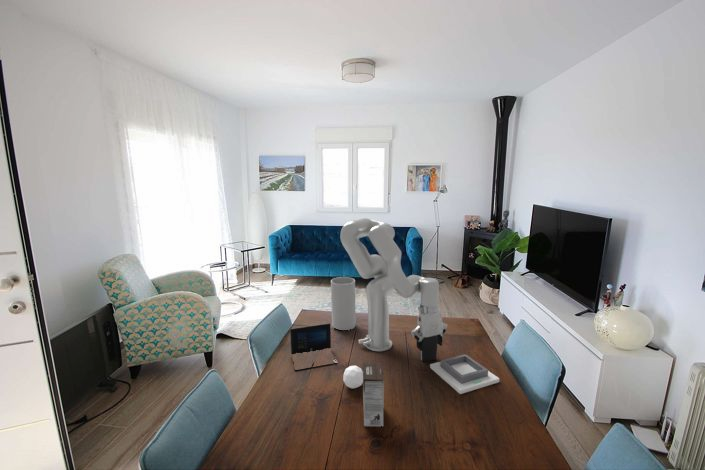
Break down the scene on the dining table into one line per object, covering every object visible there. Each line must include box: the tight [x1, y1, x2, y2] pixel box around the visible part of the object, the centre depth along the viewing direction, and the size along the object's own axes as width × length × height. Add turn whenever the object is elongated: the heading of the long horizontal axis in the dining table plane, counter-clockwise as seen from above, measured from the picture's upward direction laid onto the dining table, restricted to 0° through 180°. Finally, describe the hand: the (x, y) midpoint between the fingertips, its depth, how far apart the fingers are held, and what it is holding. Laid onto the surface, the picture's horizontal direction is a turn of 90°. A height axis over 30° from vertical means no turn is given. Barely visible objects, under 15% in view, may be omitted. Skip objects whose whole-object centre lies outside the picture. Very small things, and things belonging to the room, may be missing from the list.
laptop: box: [289, 322, 338, 364], centre depth 136 cm, size 18×12×13 cm
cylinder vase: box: [330, 276, 357, 331], centre depth 167 cm, size 12×12×25 cm
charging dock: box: [429, 353, 500, 395], centre depth 124 cm, size 18×18×4 cm
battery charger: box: [419, 335, 438, 362], centre depth 136 cm, size 7×4×11 cm, turn 99°
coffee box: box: [362, 362, 385, 427], centre depth 102 cm, size 9×6×16 cm
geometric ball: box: [342, 365, 363, 389], centre depth 118 cm, size 8×8×8 cm
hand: (429, 346), depth 135 cm, fingers open, 9 cm apart
